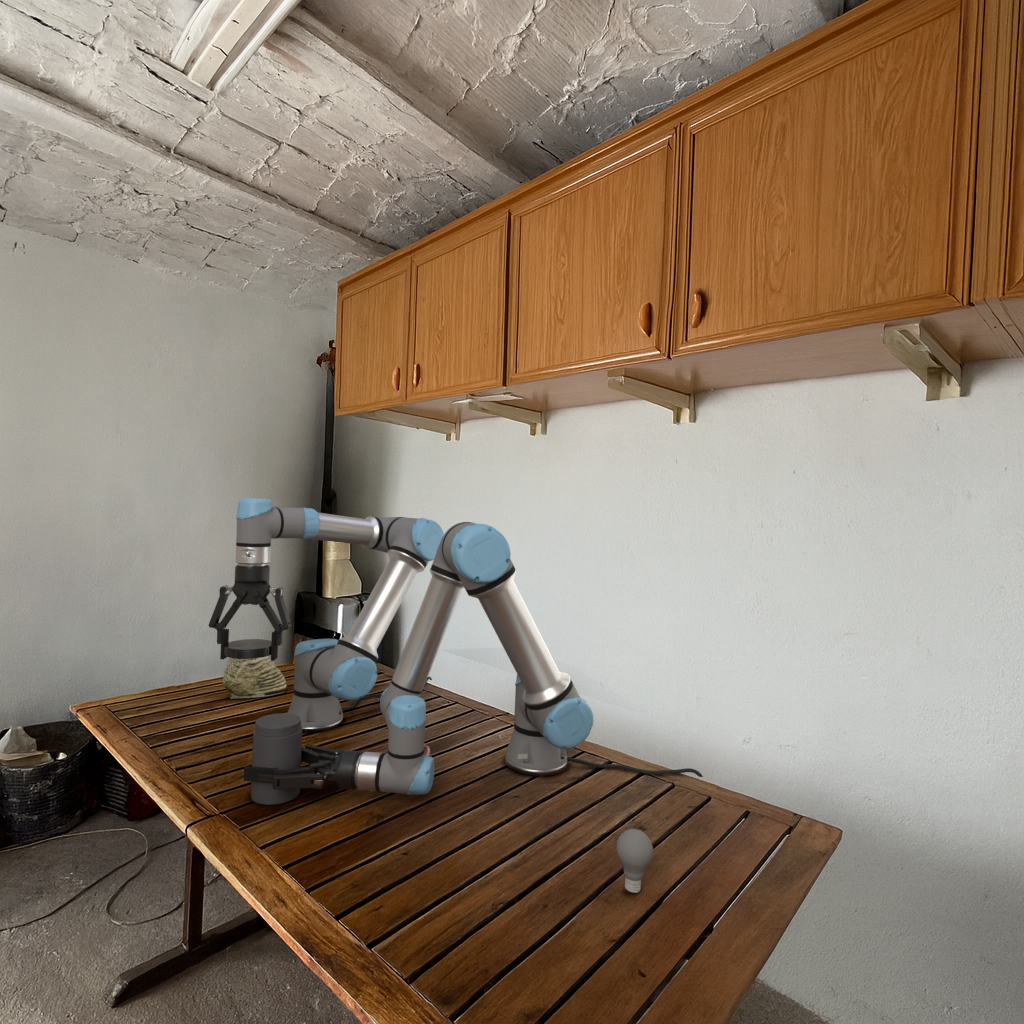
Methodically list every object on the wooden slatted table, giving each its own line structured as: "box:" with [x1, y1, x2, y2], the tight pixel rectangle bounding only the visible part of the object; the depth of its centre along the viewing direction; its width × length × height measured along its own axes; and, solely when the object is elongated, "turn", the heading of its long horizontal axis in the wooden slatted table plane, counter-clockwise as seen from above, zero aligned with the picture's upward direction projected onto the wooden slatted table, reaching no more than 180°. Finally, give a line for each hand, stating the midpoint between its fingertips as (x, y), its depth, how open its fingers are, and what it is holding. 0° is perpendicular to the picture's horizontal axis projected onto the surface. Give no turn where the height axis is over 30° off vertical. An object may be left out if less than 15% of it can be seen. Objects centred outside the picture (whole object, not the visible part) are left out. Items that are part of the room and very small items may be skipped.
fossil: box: [222, 655, 288, 699], centre depth 198 cm, size 9×18×15 cm, turn 132°
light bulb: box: [615, 828, 654, 894], centre depth 106 cm, size 6×6×10 cm
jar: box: [250, 712, 303, 806], centre depth 134 cm, size 10×10×16 cm
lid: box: [224, 638, 271, 659], centre depth 148 cm, size 11×11×2 cm
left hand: (249, 658), depth 148 cm, fingers closed on lid, 11 cm apart
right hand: (257, 762), depth 134 cm, fingers closed on jar, 10 cm apart
